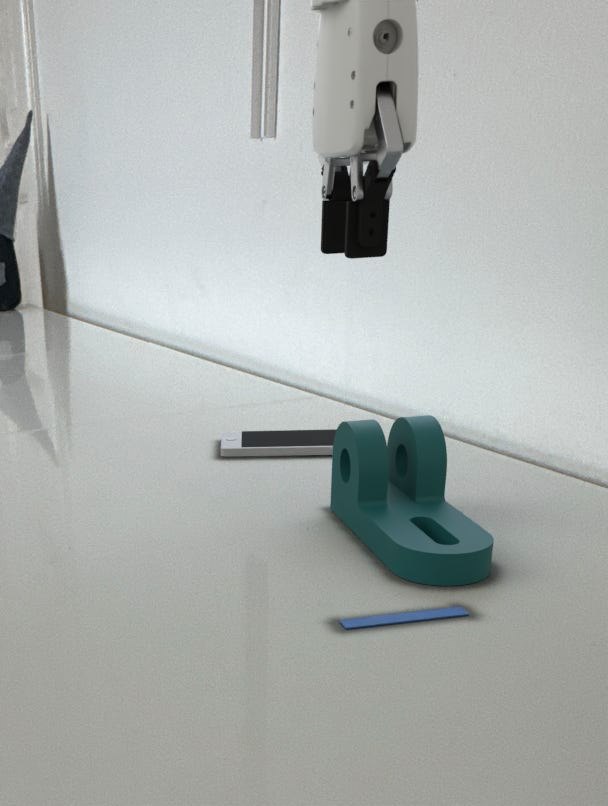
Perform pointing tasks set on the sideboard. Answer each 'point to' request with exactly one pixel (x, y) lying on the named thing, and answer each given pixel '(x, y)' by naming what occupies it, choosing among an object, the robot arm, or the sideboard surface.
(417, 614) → the tape line
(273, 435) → the smartphone
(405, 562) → the bracket
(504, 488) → the sideboard surface
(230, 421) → the sideboard surface
